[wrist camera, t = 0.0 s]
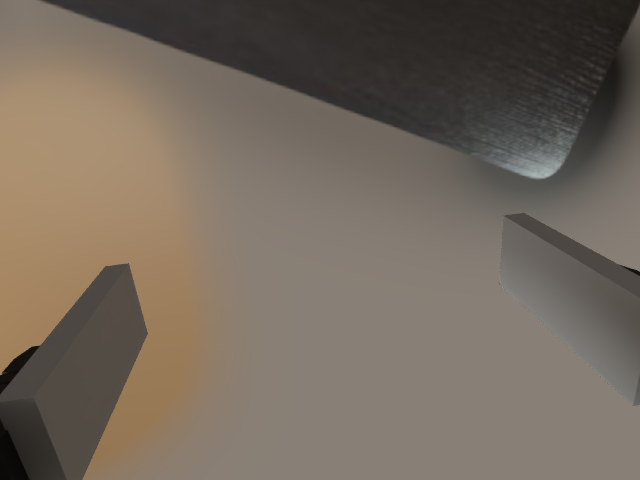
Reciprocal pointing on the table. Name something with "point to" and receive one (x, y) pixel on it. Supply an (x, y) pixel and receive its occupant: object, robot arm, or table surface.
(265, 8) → the table surface
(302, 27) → the table surface
